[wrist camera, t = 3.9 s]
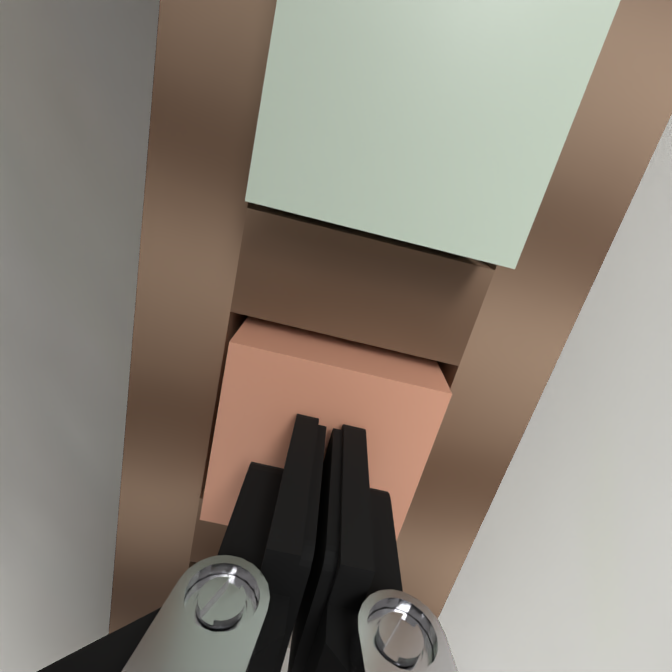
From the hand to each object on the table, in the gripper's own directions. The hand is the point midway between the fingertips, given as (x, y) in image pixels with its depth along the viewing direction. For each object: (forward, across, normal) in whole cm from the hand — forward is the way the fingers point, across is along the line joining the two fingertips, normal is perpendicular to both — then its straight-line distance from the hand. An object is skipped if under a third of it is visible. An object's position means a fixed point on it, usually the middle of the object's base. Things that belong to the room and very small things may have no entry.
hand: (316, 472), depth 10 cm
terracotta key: (+3, 0, 0) cm, 3 cm away
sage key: (+2, 0, -8) cm, 9 cm away
